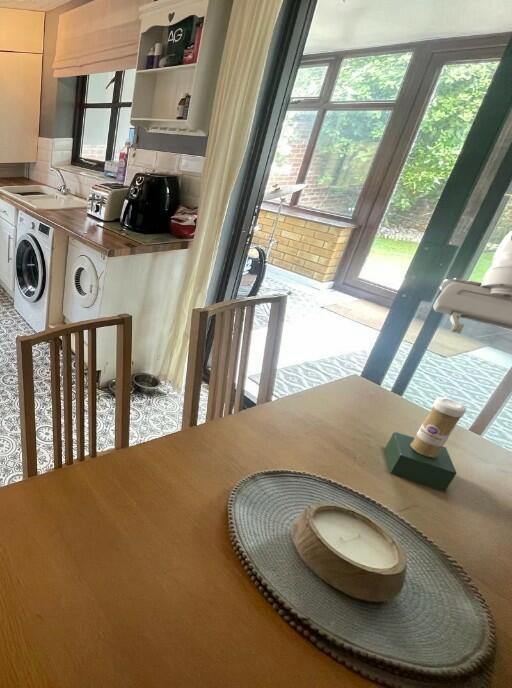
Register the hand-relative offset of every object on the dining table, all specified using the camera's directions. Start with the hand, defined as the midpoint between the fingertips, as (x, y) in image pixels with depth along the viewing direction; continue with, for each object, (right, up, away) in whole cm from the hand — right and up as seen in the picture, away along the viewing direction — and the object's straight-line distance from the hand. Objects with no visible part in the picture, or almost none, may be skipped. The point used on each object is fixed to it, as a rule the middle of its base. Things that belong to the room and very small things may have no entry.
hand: (485, 339), depth 92 cm
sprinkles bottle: (-14, -25, 0) cm, 29 cm away
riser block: (-14, -30, +3) cm, 33 cm away
